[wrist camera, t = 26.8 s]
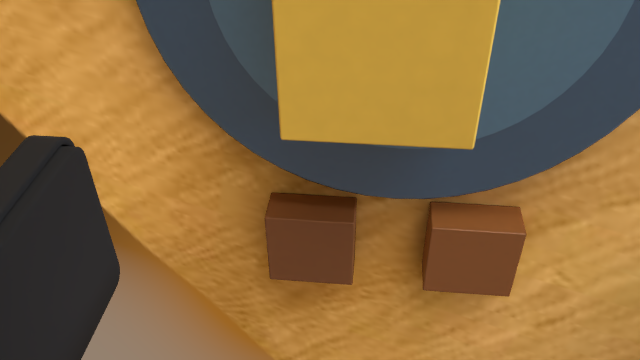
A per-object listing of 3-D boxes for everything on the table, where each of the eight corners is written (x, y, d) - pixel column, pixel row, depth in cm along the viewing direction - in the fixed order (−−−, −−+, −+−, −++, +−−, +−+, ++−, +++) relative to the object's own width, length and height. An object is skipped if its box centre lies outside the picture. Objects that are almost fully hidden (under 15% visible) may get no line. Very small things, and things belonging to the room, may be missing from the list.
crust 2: (430, 201, 30) (431, 228, 28) (520, 206, 30) (526, 234, 28) (421, 262, 33) (422, 290, 31) (504, 268, 32) (509, 297, 31)
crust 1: (271, 191, 31) (264, 217, 29) (356, 196, 30) (354, 223, 29) (275, 252, 34) (269, 279, 32) (354, 258, 33) (352, 285, 32)
